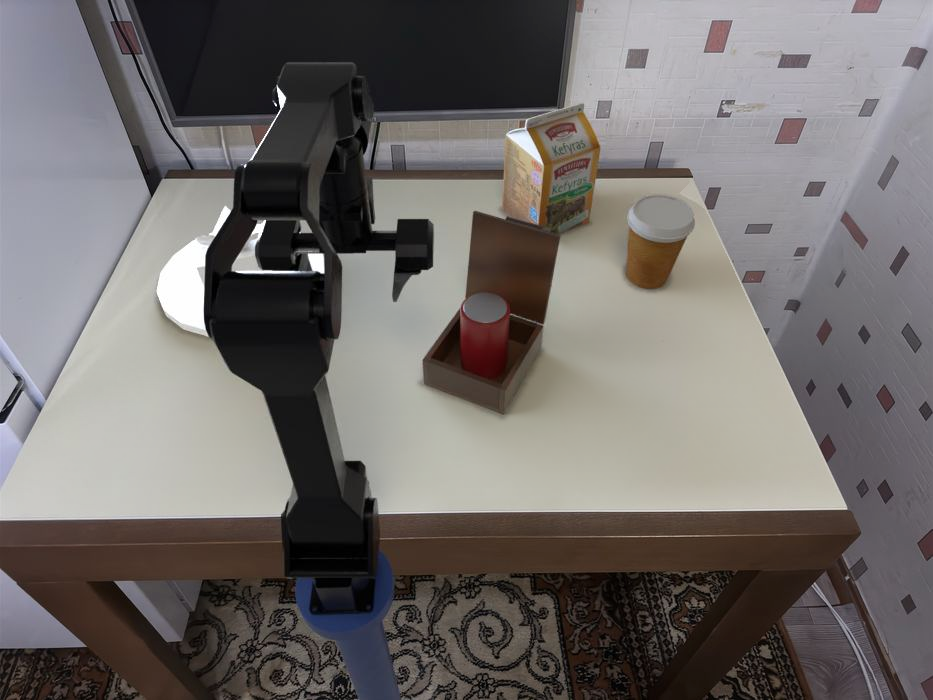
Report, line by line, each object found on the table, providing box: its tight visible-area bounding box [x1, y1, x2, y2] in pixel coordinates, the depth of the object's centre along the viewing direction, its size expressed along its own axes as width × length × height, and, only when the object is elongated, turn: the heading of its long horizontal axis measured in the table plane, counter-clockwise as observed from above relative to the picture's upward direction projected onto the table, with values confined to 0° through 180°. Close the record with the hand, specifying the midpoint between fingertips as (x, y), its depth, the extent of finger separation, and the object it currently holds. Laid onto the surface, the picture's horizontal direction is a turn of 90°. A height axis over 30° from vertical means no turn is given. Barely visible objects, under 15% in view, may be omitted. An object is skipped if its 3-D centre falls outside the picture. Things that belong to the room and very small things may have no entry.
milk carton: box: [501, 102, 602, 235], centre depth 108 cm, size 10×11×19 cm
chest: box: [422, 308, 544, 415], centre depth 90 cm, size 13×12×5 cm
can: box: [459, 292, 511, 380], centre depth 87 cm, size 6×6×10 cm
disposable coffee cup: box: [625, 193, 696, 290], centre depth 100 cm, size 10×10×12 cm
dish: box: [156, 205, 325, 338], centre depth 99 cm, size 25×25×11 cm
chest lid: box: [465, 210, 561, 325], centre depth 89 cm, size 13×12×4 cm
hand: (356, 299), depth 79 cm, fingers open, 9 cm apart
